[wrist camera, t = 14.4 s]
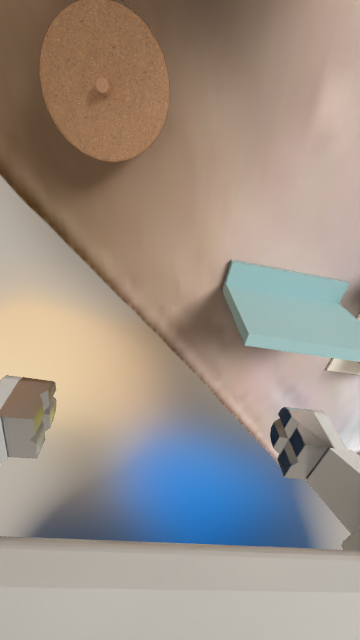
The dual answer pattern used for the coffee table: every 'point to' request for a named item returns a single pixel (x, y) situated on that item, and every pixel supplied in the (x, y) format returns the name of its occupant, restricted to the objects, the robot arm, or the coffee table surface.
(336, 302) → the screen
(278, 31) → the coffee table surface
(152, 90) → the lidded jar
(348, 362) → the pad
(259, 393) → the coffee table surface
